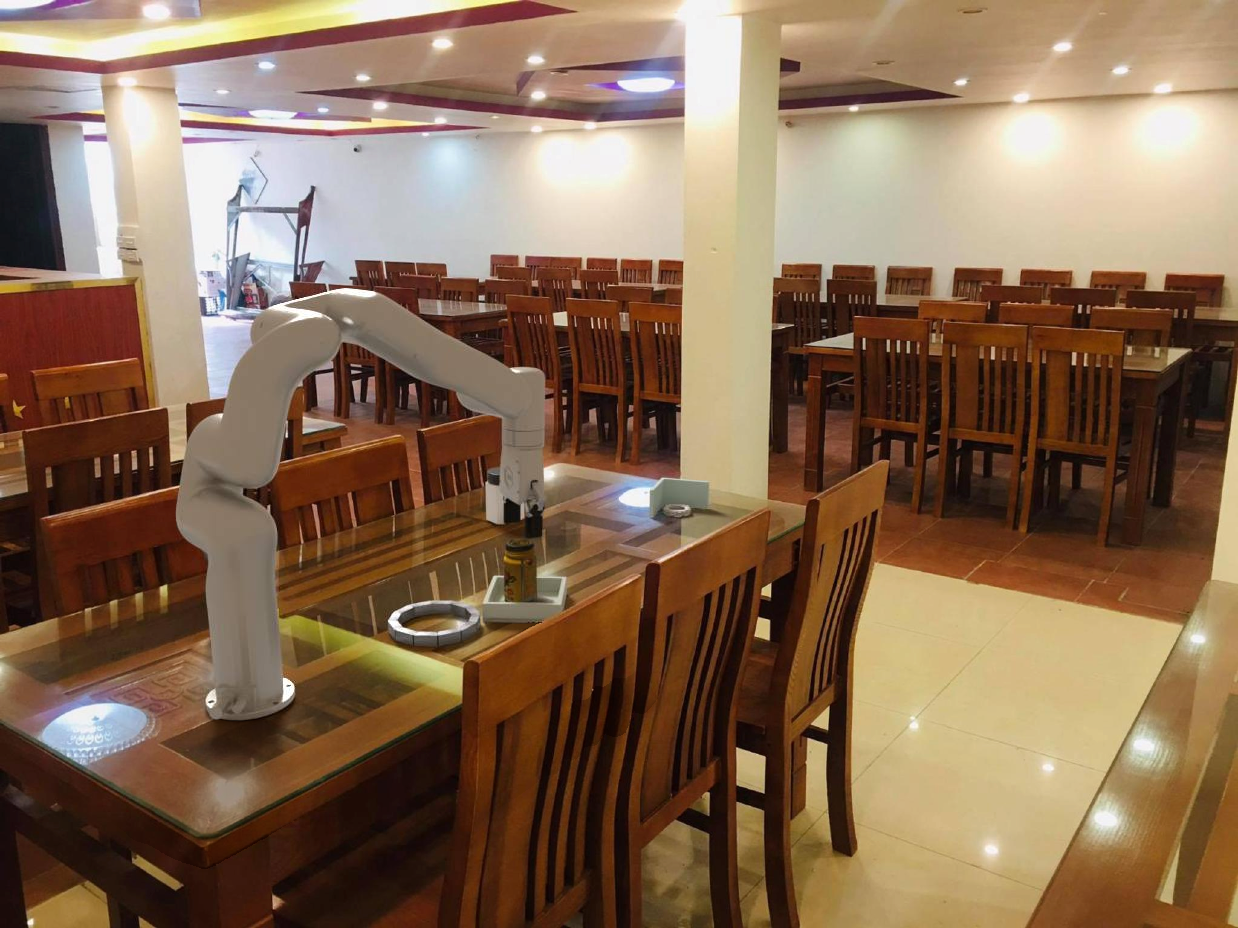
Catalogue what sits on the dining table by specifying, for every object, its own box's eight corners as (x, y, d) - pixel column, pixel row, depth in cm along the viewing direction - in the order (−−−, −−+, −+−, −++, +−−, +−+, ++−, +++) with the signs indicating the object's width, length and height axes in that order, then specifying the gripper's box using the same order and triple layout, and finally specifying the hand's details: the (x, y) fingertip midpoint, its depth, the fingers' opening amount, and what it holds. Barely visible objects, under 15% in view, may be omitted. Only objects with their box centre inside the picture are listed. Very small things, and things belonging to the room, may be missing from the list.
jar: (498, 512, 244) (497, 464, 242) (528, 516, 242) (528, 467, 239) (481, 522, 236) (479, 473, 233) (512, 526, 234) (511, 476, 231)
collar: (471, 647, 169) (471, 636, 169) (380, 645, 170) (379, 634, 169) (485, 611, 184) (485, 601, 184) (401, 610, 185) (400, 599, 184)
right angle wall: (649, 520, 241) (649, 489, 240) (661, 506, 253) (661, 477, 251) (698, 524, 238) (699, 494, 236) (708, 510, 249) (709, 481, 248)
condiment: (494, 604, 186) (493, 542, 183) (528, 592, 192) (527, 532, 189) (520, 614, 181) (519, 551, 178) (555, 602, 187) (554, 540, 184)
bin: (561, 623, 180) (560, 604, 179) (482, 621, 180) (482, 603, 179) (566, 593, 193) (566, 576, 192) (494, 592, 193) (493, 575, 193)
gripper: (485, 430, 184) (485, 519, 188) (523, 449, 169) (522, 545, 173) (523, 427, 188) (522, 515, 191) (563, 445, 173) (561, 540, 177)
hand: (522, 529), depth 182 cm, fingers open, 9 cm apart
